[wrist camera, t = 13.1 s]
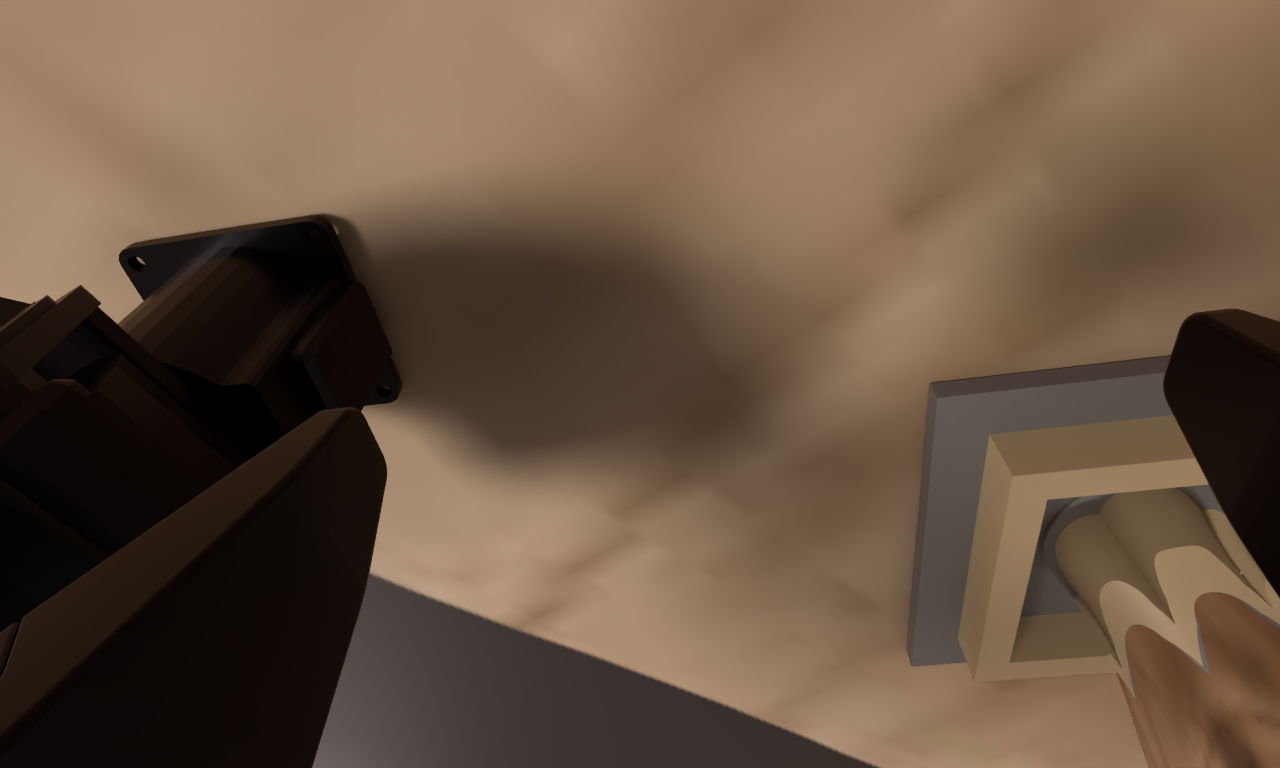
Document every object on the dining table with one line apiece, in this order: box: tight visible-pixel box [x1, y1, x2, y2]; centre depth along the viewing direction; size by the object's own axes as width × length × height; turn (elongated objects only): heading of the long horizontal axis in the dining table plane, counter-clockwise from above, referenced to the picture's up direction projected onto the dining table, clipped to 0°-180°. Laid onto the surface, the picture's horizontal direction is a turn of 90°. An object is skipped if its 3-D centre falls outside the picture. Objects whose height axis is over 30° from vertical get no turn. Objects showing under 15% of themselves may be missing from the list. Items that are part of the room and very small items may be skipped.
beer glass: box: [1042, 484, 1280, 768], centre depth 21 cm, size 7×7×15 cm
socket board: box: [907, 356, 1209, 682], centre depth 26 cm, size 15×15×3 cm
